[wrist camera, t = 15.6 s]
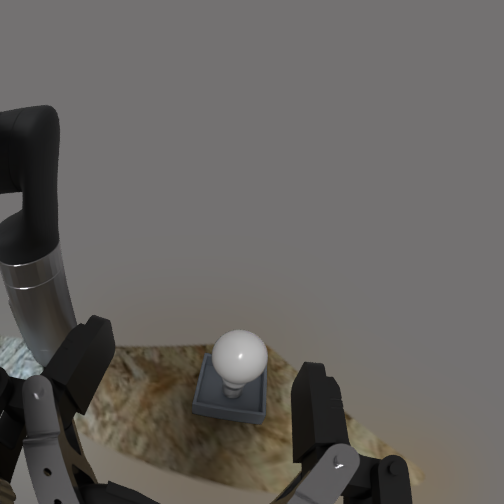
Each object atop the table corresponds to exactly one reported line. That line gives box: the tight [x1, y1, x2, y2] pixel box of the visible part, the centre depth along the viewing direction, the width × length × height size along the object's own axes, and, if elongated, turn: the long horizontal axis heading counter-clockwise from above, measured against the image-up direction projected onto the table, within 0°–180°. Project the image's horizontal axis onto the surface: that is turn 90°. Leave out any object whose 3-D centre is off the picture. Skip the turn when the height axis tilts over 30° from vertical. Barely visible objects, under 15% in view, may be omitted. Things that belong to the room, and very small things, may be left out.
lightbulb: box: [212, 330, 268, 398], centre depth 30 cm, size 6×6×11 cm
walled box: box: [192, 353, 267, 424], centre depth 33 cm, size 9×9×3 cm
